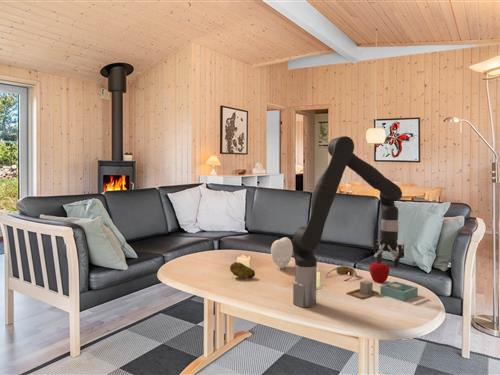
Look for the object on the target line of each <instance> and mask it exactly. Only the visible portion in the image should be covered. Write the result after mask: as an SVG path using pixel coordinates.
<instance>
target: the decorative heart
mask: <svg viewBox="0 0 500 375" xmlns="http://www.w3.org/2000/svg"><path fill="white" fill-rule="evenodd" d="M270 254H271V259H272V261H273V262H274V263H275V265H276V266H277V270H278V271H279V270H280V269H283V268H285V267H287V266H288V264H289V263H290V261H291V258H292V256H293V242H292V241H291V239H290V238H289V237H286V236H285V237H282V238H280V239H276V240H274V242H272V244H271V248H270Z"/></svg>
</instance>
